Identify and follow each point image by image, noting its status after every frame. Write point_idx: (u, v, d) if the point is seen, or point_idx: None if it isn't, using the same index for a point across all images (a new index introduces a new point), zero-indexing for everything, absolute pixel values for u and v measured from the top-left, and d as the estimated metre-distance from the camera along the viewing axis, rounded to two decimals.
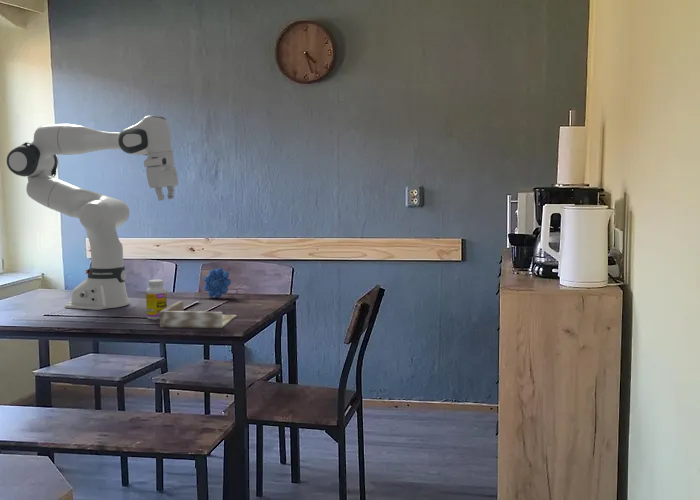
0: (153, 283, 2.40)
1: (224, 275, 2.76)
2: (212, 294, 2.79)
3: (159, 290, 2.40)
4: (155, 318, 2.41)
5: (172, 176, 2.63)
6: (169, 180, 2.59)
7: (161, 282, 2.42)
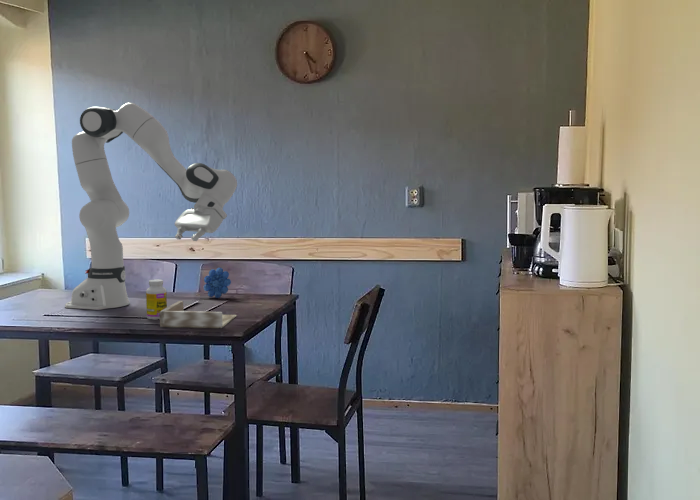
0: (153, 283, 2.40)
1: (224, 275, 2.76)
2: (212, 294, 2.79)
3: (159, 290, 2.40)
4: (155, 318, 2.41)
5: None
6: None
7: (161, 282, 2.42)
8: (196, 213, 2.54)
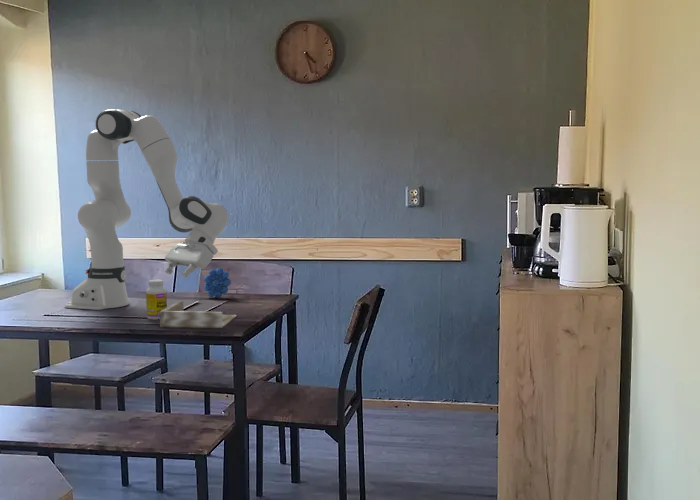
0: (153, 283, 2.40)
1: (224, 275, 2.76)
2: (212, 294, 2.79)
3: (159, 290, 2.40)
4: (155, 318, 2.41)
5: None
6: None
7: (161, 282, 2.42)
8: (187, 248, 2.52)
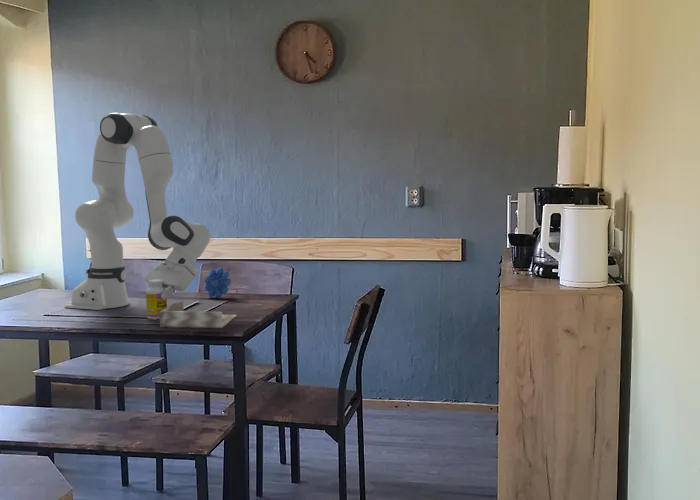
0: (153, 283, 2.40)
1: (224, 275, 2.76)
2: (212, 294, 2.79)
3: (159, 290, 2.40)
4: (155, 318, 2.41)
5: None
6: None
7: (161, 282, 2.42)
8: (167, 269, 2.47)
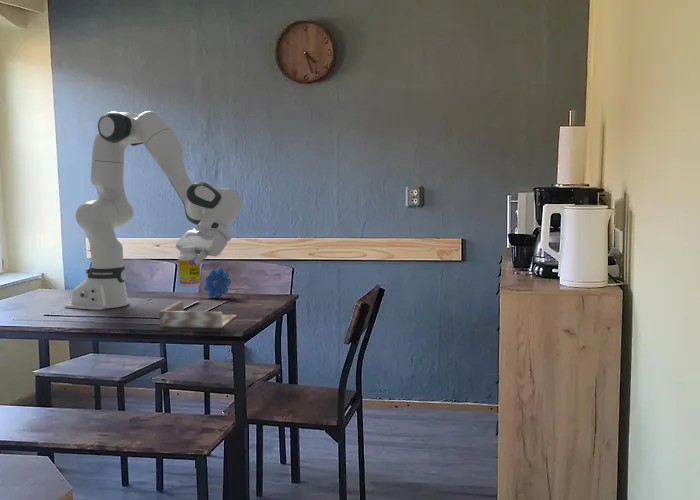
0: (186, 249, 2.32)
1: (224, 275, 2.76)
2: (212, 294, 2.79)
3: (192, 256, 2.32)
4: (188, 285, 2.32)
5: None
6: None
7: (194, 248, 2.33)
8: (199, 234, 2.38)
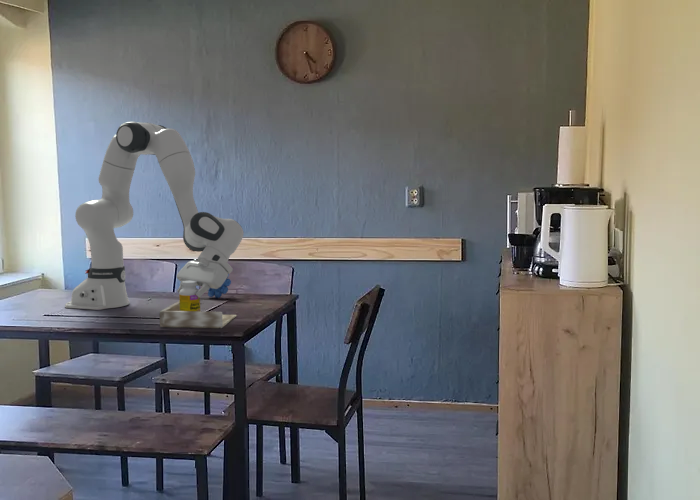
0: (187, 284, 2.33)
1: None
2: (212, 294, 2.79)
3: (193, 291, 2.33)
4: None
5: None
6: None
7: (195, 283, 2.35)
8: (200, 266, 2.40)
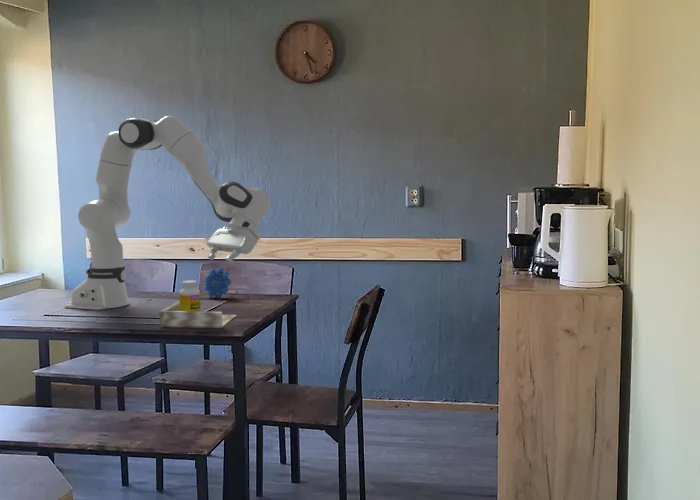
0: (187, 284, 2.33)
1: (224, 275, 2.76)
2: (212, 294, 2.79)
3: (193, 291, 2.33)
4: None
5: None
6: None
7: (195, 283, 2.35)
8: (230, 233, 2.48)
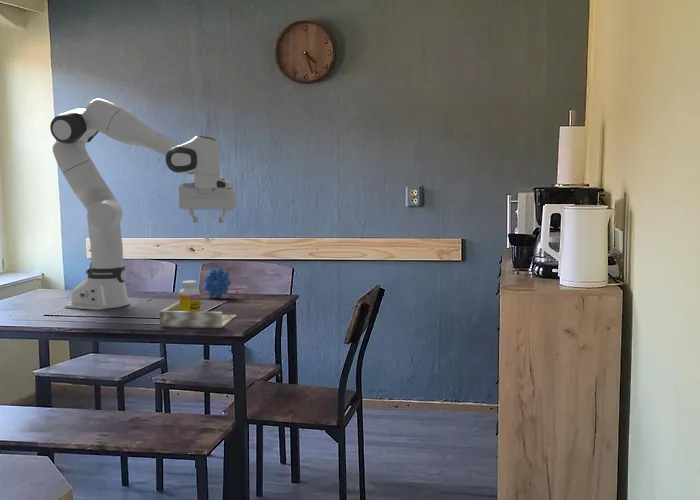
0: (187, 284, 2.33)
1: (224, 275, 2.76)
2: (212, 294, 2.79)
3: (193, 291, 2.33)
4: None
5: None
6: None
7: (195, 283, 2.35)
8: (202, 193, 2.51)
